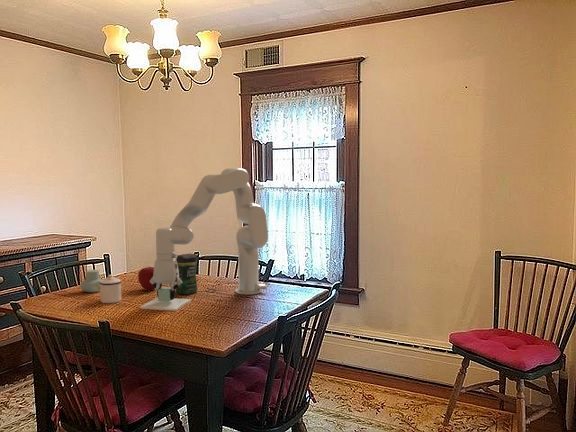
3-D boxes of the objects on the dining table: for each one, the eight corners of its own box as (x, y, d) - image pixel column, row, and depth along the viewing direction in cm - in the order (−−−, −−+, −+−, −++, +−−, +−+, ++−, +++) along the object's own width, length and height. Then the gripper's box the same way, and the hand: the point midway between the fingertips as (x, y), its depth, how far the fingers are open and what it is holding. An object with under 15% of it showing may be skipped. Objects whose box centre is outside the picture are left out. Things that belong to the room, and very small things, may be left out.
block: (174, 298, 217) (174, 287, 217) (169, 301, 212) (168, 290, 212) (163, 298, 218) (163, 286, 218) (158, 301, 213) (158, 289, 213)
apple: (164, 290, 242) (164, 266, 240) (142, 293, 236) (142, 268, 235) (156, 286, 251) (156, 263, 250) (135, 288, 245) (134, 265, 244)
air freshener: (89, 294, 233) (88, 273, 232) (77, 292, 237) (76, 271, 236) (108, 290, 242) (107, 269, 241) (96, 288, 246) (95, 267, 245)
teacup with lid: (126, 300, 223) (125, 274, 222) (109, 304, 215) (109, 278, 214) (107, 296, 229) (107, 271, 228) (91, 301, 221) (90, 275, 220)
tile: (191, 301, 222) (191, 299, 222) (175, 310, 206) (175, 308, 206) (157, 299, 225) (157, 297, 225) (140, 308, 209) (140, 306, 209)
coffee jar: (183, 296, 231) (182, 256, 229) (173, 293, 236) (172, 254, 235) (200, 292, 238) (199, 253, 236) (190, 289, 243) (189, 251, 242)
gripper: (187, 256, 216) (188, 297, 217) (151, 254, 219) (152, 295, 221) (180, 259, 208) (181, 302, 210) (142, 257, 212) (143, 299, 213)
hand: (166, 298), depth 215 cm, fingers closed on block, 5 cm apart
